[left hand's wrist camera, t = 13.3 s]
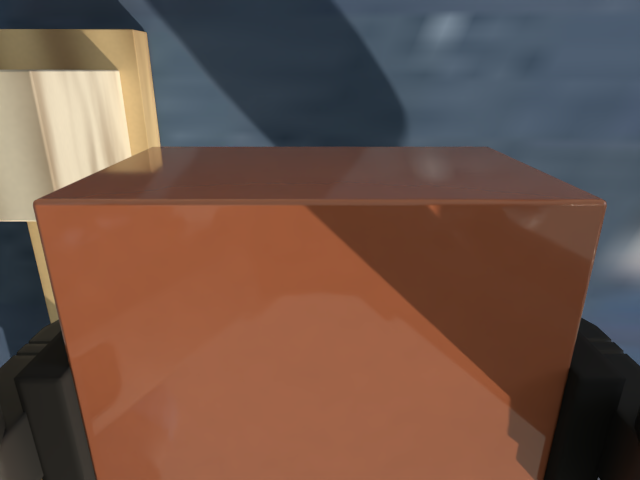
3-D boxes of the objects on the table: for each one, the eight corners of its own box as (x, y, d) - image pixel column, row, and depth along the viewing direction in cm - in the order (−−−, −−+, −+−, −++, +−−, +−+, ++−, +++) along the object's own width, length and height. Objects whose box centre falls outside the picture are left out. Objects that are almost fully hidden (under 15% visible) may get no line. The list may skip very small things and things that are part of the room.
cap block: (489, 146, 11) (610, 200, 7) (454, 417, 14) (520, 589, 9) (150, 146, 11) (28, 200, 7) (185, 417, 14) (118, 589, 9)
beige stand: (146, 32, 26) (-38, -9, 13) (196, 446, 36) (125, 660, 23) (5, 32, 26) (-326, -8, 13) (96, 445, 36) (-33, 659, 23)
